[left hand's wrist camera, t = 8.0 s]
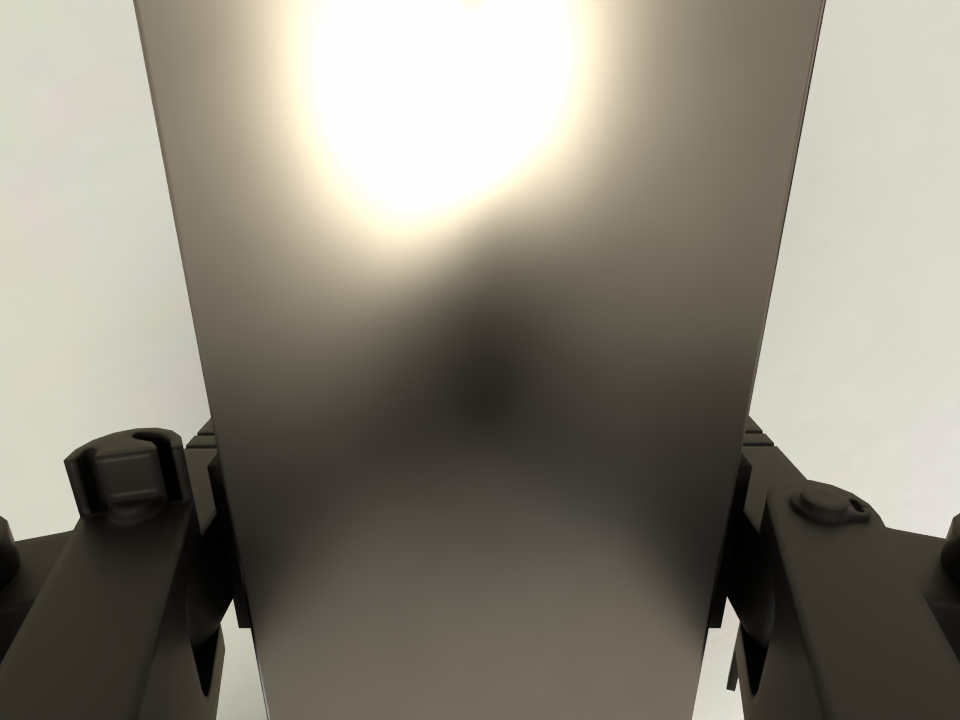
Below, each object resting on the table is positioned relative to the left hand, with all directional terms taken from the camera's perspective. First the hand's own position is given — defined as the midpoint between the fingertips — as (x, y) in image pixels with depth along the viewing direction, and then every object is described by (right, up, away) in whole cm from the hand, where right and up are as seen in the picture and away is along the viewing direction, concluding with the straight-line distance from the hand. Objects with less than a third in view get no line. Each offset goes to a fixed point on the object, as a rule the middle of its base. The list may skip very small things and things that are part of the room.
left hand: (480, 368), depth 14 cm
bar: (0, +7, -2) cm, 7 cm away
